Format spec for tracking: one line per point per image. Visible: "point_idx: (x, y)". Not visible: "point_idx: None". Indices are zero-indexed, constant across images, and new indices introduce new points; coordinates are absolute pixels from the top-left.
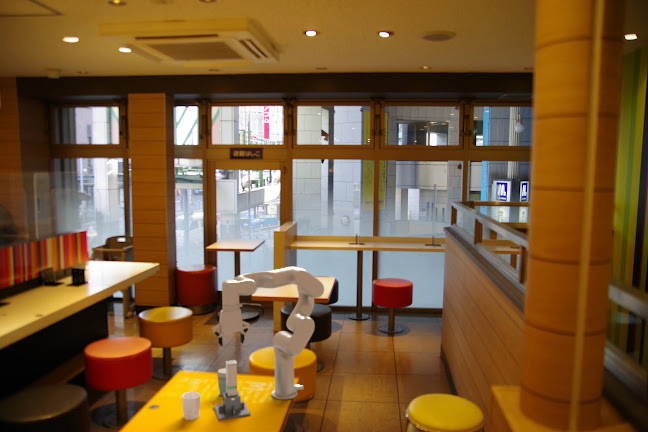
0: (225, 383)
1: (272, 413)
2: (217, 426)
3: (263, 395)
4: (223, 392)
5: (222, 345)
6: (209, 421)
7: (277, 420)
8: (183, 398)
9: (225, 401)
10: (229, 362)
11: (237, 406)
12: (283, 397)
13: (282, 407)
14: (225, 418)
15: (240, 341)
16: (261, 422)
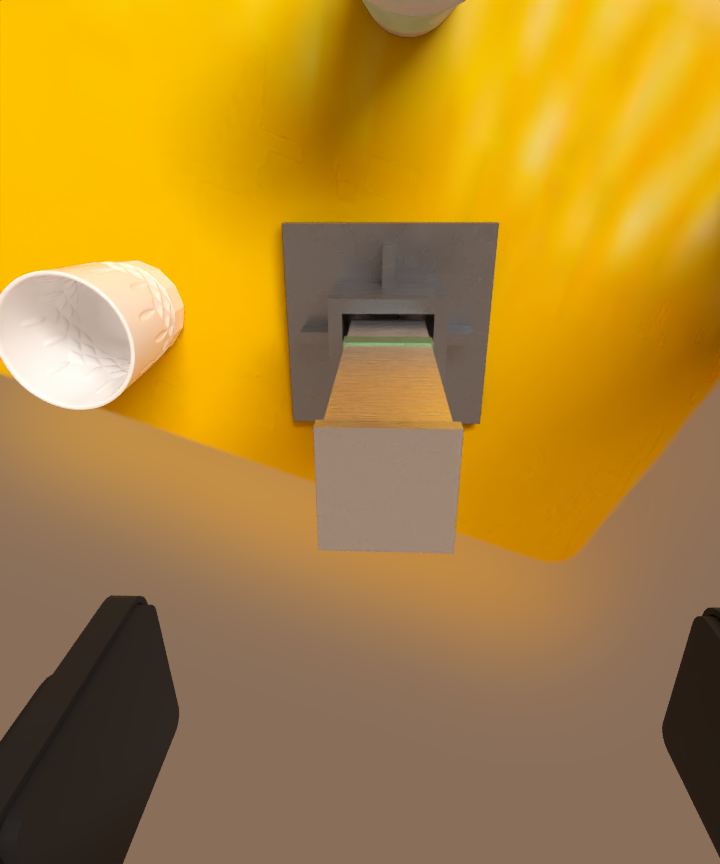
0: (397, 19)
1: (607, 438)
2: (279, 470)
3: (684, 139)
4: (381, 24)
5: (176, 726)
6: (242, 403)
7: (594, 519)
8: (12, 373)
9: None
10: (361, 495)
11: None
12: None
13: (701, 387)
14: None
15: (695, 619)
16: (507, 509)
